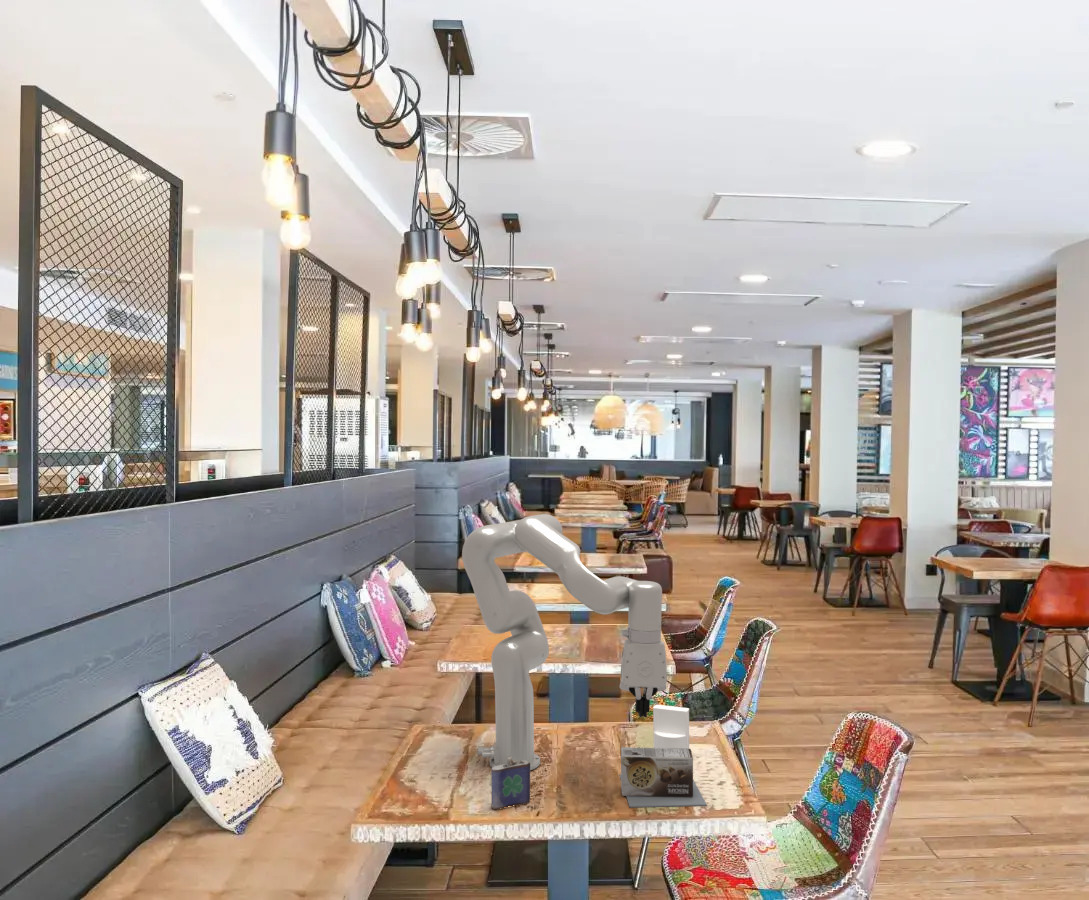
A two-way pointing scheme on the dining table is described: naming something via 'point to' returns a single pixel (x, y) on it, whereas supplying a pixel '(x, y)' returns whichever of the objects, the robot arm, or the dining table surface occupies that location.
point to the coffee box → (656, 772)
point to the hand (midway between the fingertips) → (642, 714)
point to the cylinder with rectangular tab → (671, 727)
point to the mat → (667, 800)
